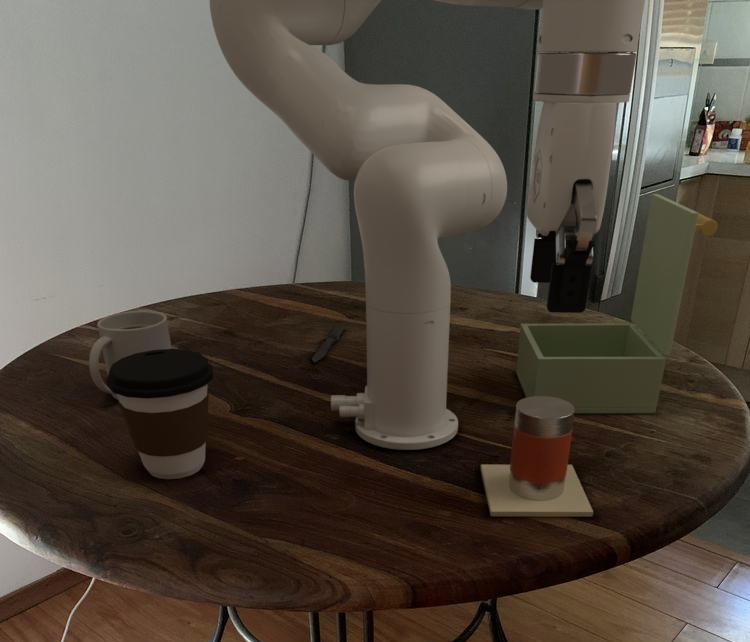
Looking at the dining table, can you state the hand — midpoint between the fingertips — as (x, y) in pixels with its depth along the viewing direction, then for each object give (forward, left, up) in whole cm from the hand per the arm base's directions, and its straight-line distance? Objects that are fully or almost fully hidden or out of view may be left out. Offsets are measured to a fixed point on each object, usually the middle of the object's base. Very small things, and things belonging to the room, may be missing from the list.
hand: (555, 295), depth 67 cm
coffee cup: (-39, +5, -20) cm, 44 cm away
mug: (-50, +27, -20) cm, 60 cm away
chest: (+11, +27, -20) cm, 35 cm away
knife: (-25, +47, -20) cm, 57 cm away
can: (0, -1, -20) cm, 20 cm away
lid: (+18, +27, -4) cm, 33 cm away
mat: (0, -1, -20) cm, 20 cm away
